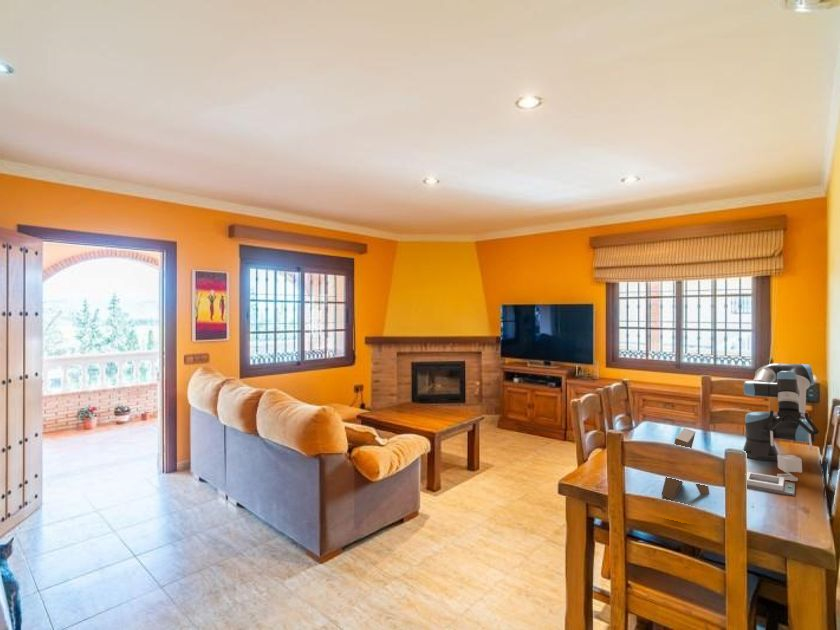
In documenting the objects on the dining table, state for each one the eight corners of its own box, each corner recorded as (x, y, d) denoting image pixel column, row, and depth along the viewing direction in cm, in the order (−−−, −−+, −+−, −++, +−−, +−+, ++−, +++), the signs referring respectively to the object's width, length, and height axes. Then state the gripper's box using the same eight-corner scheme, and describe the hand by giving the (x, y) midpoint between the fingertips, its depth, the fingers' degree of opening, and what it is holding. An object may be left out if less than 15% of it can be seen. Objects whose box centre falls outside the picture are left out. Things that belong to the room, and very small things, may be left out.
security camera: (802, 481, 192) (801, 458, 192) (784, 480, 193) (783, 458, 194) (793, 476, 198) (792, 454, 198) (776, 476, 199) (775, 454, 200)
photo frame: (661, 497, 178) (659, 436, 178) (671, 482, 194) (669, 426, 195) (704, 506, 168) (702, 441, 169) (710, 489, 185) (709, 431, 186)
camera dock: (737, 476, 200) (737, 469, 200) (794, 485, 187) (794, 478, 187) (734, 485, 189) (733, 478, 189) (794, 496, 176) (794, 488, 176)
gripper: (754, 398, 214) (755, 441, 205) (823, 401, 196) (827, 448, 188) (756, 403, 218) (758, 446, 210) (824, 407, 201) (828, 453, 193)
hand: (791, 447), depth 199 cm, fingers open, 13 cm apart
